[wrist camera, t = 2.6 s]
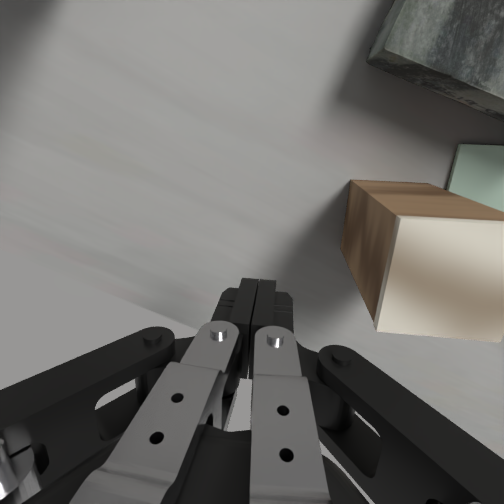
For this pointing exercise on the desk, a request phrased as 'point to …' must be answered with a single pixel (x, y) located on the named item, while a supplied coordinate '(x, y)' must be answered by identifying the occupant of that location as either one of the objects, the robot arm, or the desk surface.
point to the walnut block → (426, 260)
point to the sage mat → (479, 174)
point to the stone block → (447, 49)
